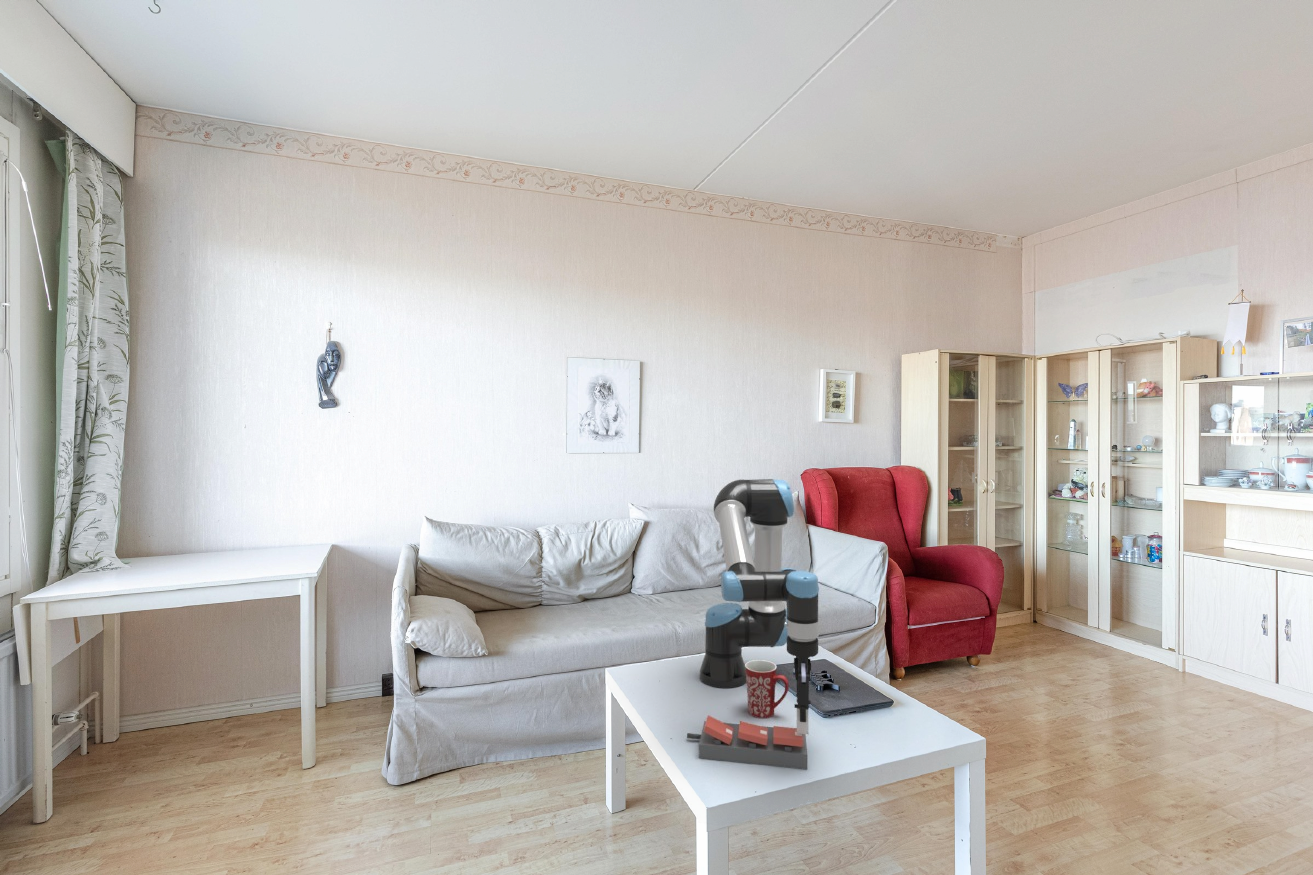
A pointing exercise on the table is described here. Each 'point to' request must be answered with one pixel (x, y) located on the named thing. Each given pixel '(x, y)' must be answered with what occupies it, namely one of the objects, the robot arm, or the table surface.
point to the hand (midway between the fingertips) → (802, 732)
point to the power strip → (751, 750)
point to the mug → (762, 687)
